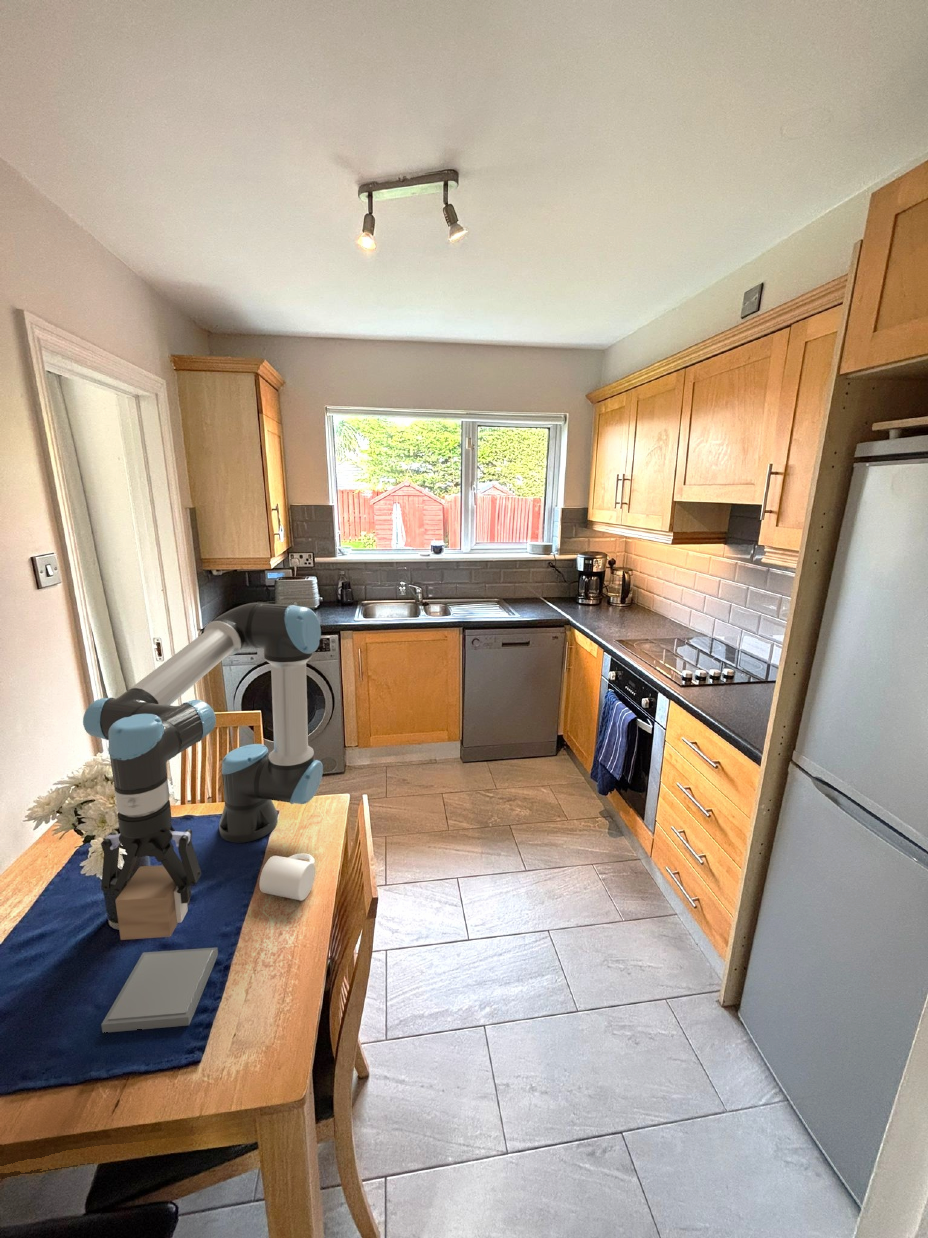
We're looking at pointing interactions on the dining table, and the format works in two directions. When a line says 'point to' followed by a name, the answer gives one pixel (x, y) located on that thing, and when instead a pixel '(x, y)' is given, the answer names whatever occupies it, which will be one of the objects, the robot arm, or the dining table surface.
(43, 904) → the dining table surface
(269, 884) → the mug
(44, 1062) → the dining table surface
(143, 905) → the cube
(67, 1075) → the dining table surface
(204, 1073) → the dining table surface
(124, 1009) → the plate
